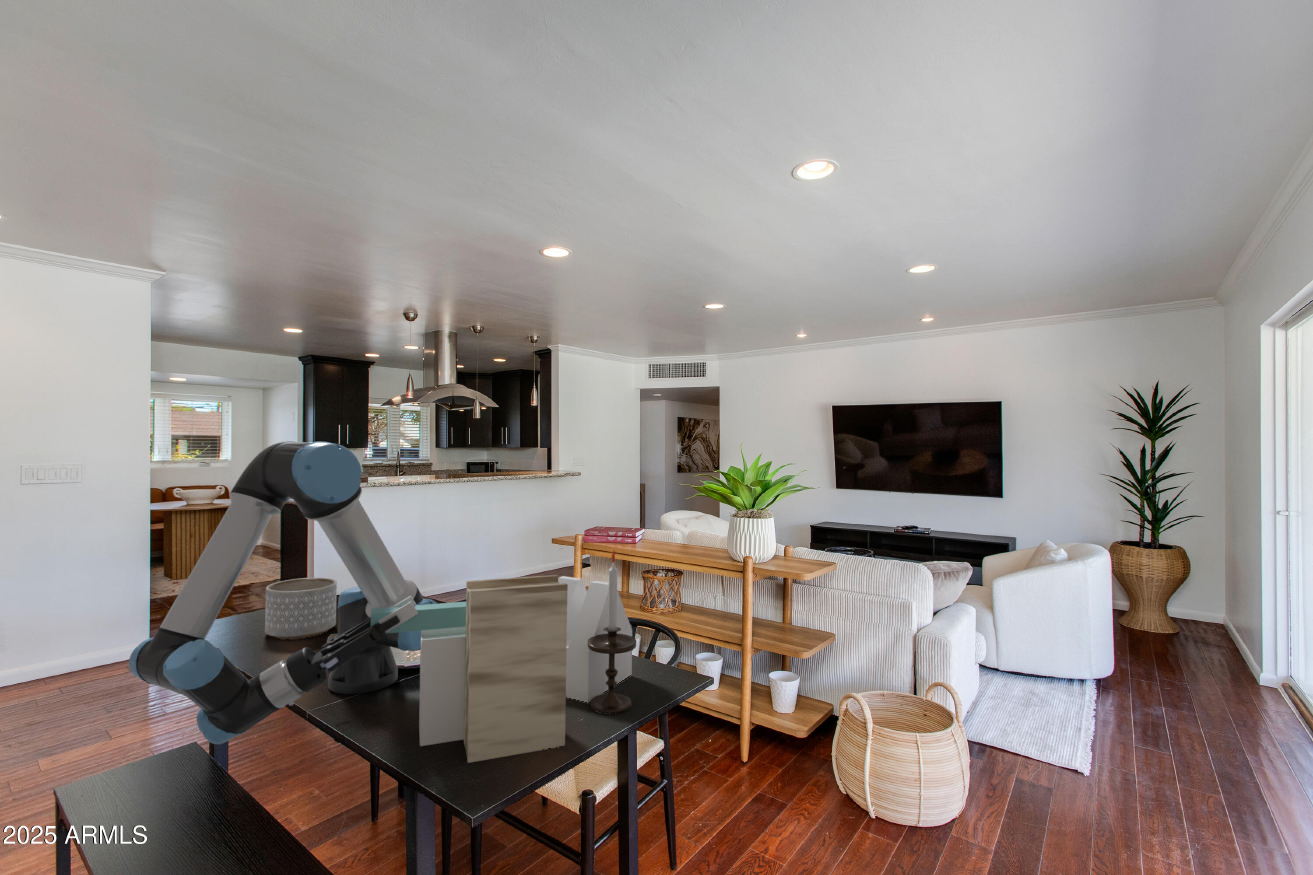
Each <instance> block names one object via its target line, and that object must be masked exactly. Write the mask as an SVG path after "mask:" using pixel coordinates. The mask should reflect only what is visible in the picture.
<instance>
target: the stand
mask: <svg viewBox="0 0 1313 875" xmlns="http://www.w3.org/2000/svg"><path fill="white" fill-rule="evenodd" d="M558 578H559V575H558V574H552V575H551V574H550V575H537V576H536V575H535V576H521V577H506V578H491V579H477V580H476V579H475V580H467V581H466V588H465V589H466V592H465V593H466V596H465V602H466V642H465V698H464V739H463V744H464V748H465V754H466V755H465V756H466V759H467V763H468V764H469V763H474V762H482V761H487V760H492V759H493V760H494V759H498V758H504V757H505V758H506V757H509V756H510V757H511V756H514V755H515V756H517V755H522V754H527V753H532V752H538V751H544V750H549V749H548V748H551V749H557V748H560V747H559V746H563V747H565V746H566V713H567V712H566V702H567V700H566V699H567V698H566V651H567V590H568V584H567V583H563V584H560V583H559V582H558ZM564 745H565V746H564ZM556 747H557V748H556ZM543 749H544V750H543Z"/></svg>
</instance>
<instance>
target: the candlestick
mask: <svg viewBox="0 0 1313 875" xmlns="http://www.w3.org/2000/svg"><path fill="white" fill-rule="evenodd" d="M611 562H612V563H611V567H610V568H609V569H608V583H609V604H608V627H606V628H604V629H603V630H604V631H607V632H608V634H601V635H596V636H595V637H591V638H590V639H588V648H589V649H590V650H592V651H594V652H598V653H604V654H609V668H608V669H607V670H606V671H605V673H606V675H607V677H608V681H606V685H608V691H607V693H603V694H602V695H598V696H596V697H594V698H593V699H592V700H591V702H590V708H591V710H592V709H593V710H592V711H594V710H595V711H598V712H601V713H607V714H606V715H616V714H615V713H620V714H622V713H625V712H624V711H626V710H628V709H629V708H630V707H632V699H631V698H630V697H628V696H627V695H625V694H621V693H615V686H614V685H616V684H617V681H615V676H617V673H618V671H617V669H615V654H618V653H625V652H629V651H631V650H632V651H633V650H635V649H636V648H637V638H635V637H634V636H633V635H632V636H629V635H625V634H617V632H618V631H620V630H621V628H619V627H616V625H617V591H618V568H617V567H616V565H615V562H616V551H615V549H613V552H612V554H611ZM616 686H617V685H616ZM630 709H631V708H630ZM630 709H629V710H630ZM629 710H628V711H629ZM595 711H594V712H595ZM598 712H597V713H598ZM626 712H627V711H626ZM601 713H600V714H601ZM609 713H610V714H609Z"/></svg>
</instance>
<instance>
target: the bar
mask: <svg viewBox="0 0 1313 875" xmlns="http://www.w3.org/2000/svg"><path fill="white" fill-rule="evenodd" d="M400 607H402V606H399V607H386V608H372V611H371V626H373V625H374V624H377V623H379V620H380V619H382V618H384V617H385V616H387V615H389V614H390V613H392V612H394V611H395V610H397V609H399V608H400ZM414 607H415V608H416V610H417V612H418V614H417V615H415V616H413V617H412V618H410V619H409V620H407V621H405V622H404V623H402V624H400V625H399V626H397V627H395V628H394V629H392V630H391V631H389V632H387V633H397V632H409V631H420V630H432V629H443V628H455V627H466V601H458V602H457V601H456V602H455V601H454V602H445V603H444V602H442V603H437V604H427V605H414ZM379 624H380V623H379ZM385 634H386V632H385Z"/></svg>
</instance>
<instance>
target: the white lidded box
mask: <svg viewBox="0 0 1313 875" xmlns="http://www.w3.org/2000/svg"><path fill="white" fill-rule="evenodd" d="M465 642H466V627H455V628H443V629H432V630H421V650H419V651H420V658H419V659H420V660H419V661H420V662H419V663H420V664H419V666H420V667H419V706H418V707H419V710H418V711H419V713H418V714H419V717H418V719H419V720H418V729H419V730H418V731H419V747H424V746H431V745H436V744H442V743H443V744H444V743H449V742H455V741H456V742H457V741H462V740H463V741H464V698H465Z"/></svg>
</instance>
